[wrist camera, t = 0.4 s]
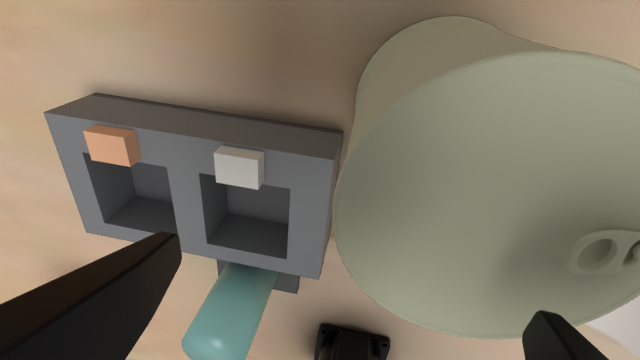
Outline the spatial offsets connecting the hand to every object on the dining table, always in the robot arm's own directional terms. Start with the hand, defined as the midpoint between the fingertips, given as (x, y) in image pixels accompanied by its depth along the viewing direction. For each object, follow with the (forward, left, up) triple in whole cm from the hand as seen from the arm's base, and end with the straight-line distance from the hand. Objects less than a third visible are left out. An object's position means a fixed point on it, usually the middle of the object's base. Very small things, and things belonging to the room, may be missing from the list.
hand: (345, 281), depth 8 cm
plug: (-14, +7, -13) cm, 20 cm away
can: (+1, -4, -14) cm, 14 cm away
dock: (-6, +10, -14) cm, 18 cm away
